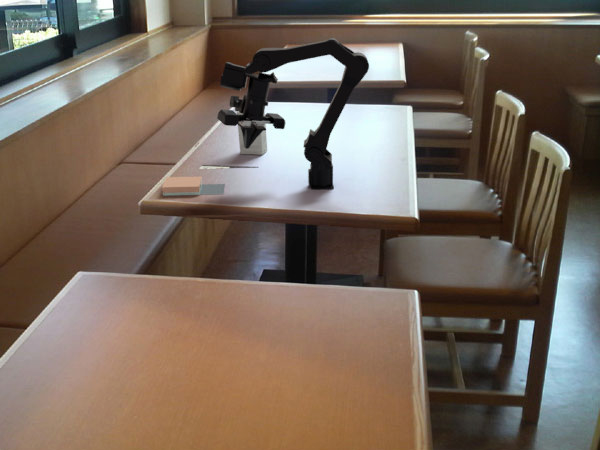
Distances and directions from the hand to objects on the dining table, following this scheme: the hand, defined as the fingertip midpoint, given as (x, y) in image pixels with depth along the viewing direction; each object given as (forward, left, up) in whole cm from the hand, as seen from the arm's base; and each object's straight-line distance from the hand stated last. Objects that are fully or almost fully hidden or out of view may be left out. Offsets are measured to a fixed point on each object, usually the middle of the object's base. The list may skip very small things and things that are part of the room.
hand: (246, 148), depth 190 cm
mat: (+13, +5, -11) cm, 18 cm away
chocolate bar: (+7, -13, -12) cm, 19 cm away
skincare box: (-1, -34, -11) cm, 36 cm away
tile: (+13, +5, -9) cm, 17 cm away
